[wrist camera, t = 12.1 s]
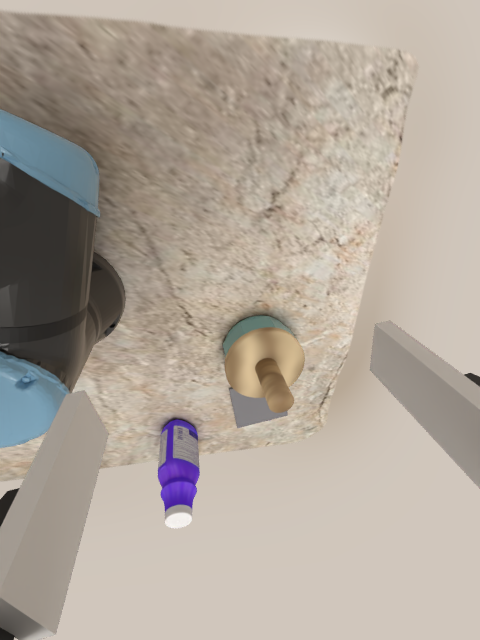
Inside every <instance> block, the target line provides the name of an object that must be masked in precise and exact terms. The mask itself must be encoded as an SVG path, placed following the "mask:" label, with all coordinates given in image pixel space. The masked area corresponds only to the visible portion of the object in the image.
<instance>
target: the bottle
mask: <svg viewBox="0 0 480 640" xmlns="http://www.w3.org/2000/svg"><path fill="white" fill-rule="evenodd" d="M199 473H200V472H199V453H198V435H197V431H196V429H195V428H194V427H193V426H192V425H191V424H189V423H187V422H185V421H182V420H177V419H176V420H173V421H171V422H169V423H168V424H167V425H166V426H165V427H164V428H163V430H162V433H161V440H160V452H159V464H158V479H159V481H160V484H161V486H162V490H161V498H162V500H163V501H164V505H165V524H166V525H167V526H168V527H170V528H182V527H185V526H187V525H188V524H189V523H190V522H191V521H192V503H193V499H194V497H195V494H196V492H197V488H196V486H195V485H196V483H197V481H198V478H199Z"/></svg>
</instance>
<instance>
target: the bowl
mask: <svg viewBox="0 0 480 640" xmlns="http://www.w3.org/2000/svg"><path fill="white" fill-rule="evenodd" d="M265 327H273V328H279V329H283V330H285V331H287V332H289V333H290V334H292V335H293V333H292V332H291V330H290V329H289V328H287V327H286V326H284V325H283V324H282V323H281V322H280V321H279V320H277V319H275V318H273V317H270V316H264V315H257V316H252V317H248V318H246V319H243V320H242V321H240V322H238V323H237V324H236V325H235V326H233V327H232V329H231V330H230V331H229V332H228V334H227V336H226V338H225V341H224V343H223V349H224V354H225V358H226V355H227V353H228V351H229V349H230V347H231V346H232V345H233V344H234V342H235V341H236V340H238V339H239V338H240V337H241V336H243V335H244V334H246V333H248V332H250V331H253V330H256V329H259V328H265ZM293 336H294V335H293ZM294 337H295V336H294Z"/></svg>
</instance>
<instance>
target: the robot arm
mask: <svg viewBox="0 0 480 640" xmlns="http://www.w3.org/2000/svg"><path fill="white" fill-rule="evenodd" d="M98 197H99V170H98V167H97V164H96V162H95V161H94V159H93V158H92V156H91V155H90V154H89V153H88V152H87V151H86V150H84V149H83V148H82V147H80V146H78V145H76V144H75V143H73V142H71V141H69V140H67V139H65V138H63V137H60V136H58V135H56V134H54V133H52V132H50V131H48V130H46V129H44V128H41V127H39V126H37V125H35V124H33V123H31V122H28V121H26V120H24V119H22V118H20V117H17V116H15V115H13V114H11V113H8V112H6V111H4V110H2V109H0V448H4V447H10V446H15V445H20V444H23V443H25V442H28V441H29V440H31V439H34V438H37V437H39V436H41V435H43V434H44V433H45V432H47V431H48V432H47V434H46V436H45V438H44V440H43V442H42V444H41V446H40V448H39V450H38V452H37V454H36V456H35V458H34V460H33V462H32V464H31V466H30V468H29V470H28V472H27V474H26V476H25V478H24V480H23V483H22V485H21V487H20V488H18V489H14V490H10V491H7V493H6V494H5V495H4V496H3V497H2V498H1V499H0V640H14V637H15V638H17V639H18V640H40V639H44V638H47V637H50V636H54V635H56V632H57V628H58V624H59V620H60V616H61V613H62V609H63V605H64V602H65V598H66V594H67V590H68V586H69V582H70V579H71V575H72V571H73V567H74V564H75V560H76V556H77V552H78V548H79V545H80V541H81V537H82V533H83V529H84V526H85V522H86V518H87V514H88V510H89V507H90V503H91V499H92V495H93V491H94V488H95V484H96V480H97V476H98V473H99V469H100V465H101V461H102V457H103V454H104V450H105V446H106V442H107V438H108V435H109V433H108V431H107V429H106V427H105V426H104V424H103V422H102V420H101V418H100V417H99V415H98V413H97V411H96V409H95V408H94V406H93V404H92V402H91V400H90V399H89V397H88V395H87V393H86V392H85V390H83V391H79V392H75V393H72V391H73V389H74V387H75V384H76V382H77V380H78V378H79V376H80V374H81V372H82V369H83V367H84V365H85V363H86V361H87V359H88V357H89V355H90V352H91V350H92V348H93V346H94V345H95V344H96V343H98V342H99V341H101V340H102V339H104V338H105V337H107V336H108V335H109V334H110V333H111V332H112V331H113V330H114V329H115V327H116V326H117V325H118V323H119V321H120V319H121V316H122V314H123V311H124V307H125V291H124V287H123V284H122V282H121V280H120V278H119V276H118V274H117V273H116V271H115V270H114V269H113V268H112V266H111V265H110V264H109V263H108V262H107V261H106V260H104V259H103V258H102V257H101V256H99V255H98V254H96V253H95V252H93V251H94V241H95V231H96V221H97V217H100V211H99V209H98ZM370 371H371V372H372V373H373V374H374V375H375V376H376V377H377V378H378V379H379V380H380V381H381V382H382V384H383V385H384V386H385V387H386V388H387V389H388V390H389V391H390V392H391V393H392V394H393V395H394V397H395V398H396V399H397V400H398V401H399V402H400V403H401V404H402V405H403V406H404V407H405V408H406V409H407V411H408V412H409V413H410V414H411V415H412V416H413V417H414V418H415V419H416V420H417V421H418V423H419V424H420V425H421V426H422V427H423V428H424V429H425V430H426V431H427V432H428V433H429V434H430V435H431V437H433V439H434V440H435V441H436V442H437V443H438V444H439V445H440V446H441V447H442V448H443V449H444V450H445V452H446V453H447V454H448V455H449V456H450V457H451V458H452V459H453V460H454V461H455V462H456V463H457V465H458V466H459V467H460V468H461V469H462V470H463V471H464V472H465V473H466V474H467V475H468V476H469V478H470V479H471V480H472V481H473V482H474V483H475V484H476V485H477V486H478V487H479V488H480V377H479V376H477V375H474V374H472V373H468V374H465V375H463V374H462V373H460V372H459V371H458V370H456V369H455V368H454V367H452V366H451V365H450V364H448V363H447V362H445V361H444V360H442V358H440V357H439V356H437V355H436V354H435V353H433V352H432V351H431V350H429V349H428V348H427V347H425V346H424V345H423V344H421V343H420V342H419V341H417V340H416V339H414V338H413V337H412V336H410V335H409V334H408V333H406V332H405V331H404V330H402V329H401V328H400V327H398V326H397V325H396V324H394V323H393V322H391V321H386V322H381V323H377V324H375V327H374V336H373V346H372V355H371V363H370Z"/></svg>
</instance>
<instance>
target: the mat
mask: <svg viewBox="0 0 480 640" xmlns="http://www.w3.org/2000/svg"><path fill="white" fill-rule="evenodd" d="M229 391H230V395H231V400H232V405H233V409H234V414H235V419H236V423H237V428H240V427H244V426H248V425H252V424H256V423H260V422H264V421H268V420H272V419H275V418H279V417H283V416H287V411H285V412H281V413H275V412H272V411H271V410H270V409H269V406H268V404H267V401H266V398H265V397H264V398H252V397H247V396H244V395H242V394H240V393H238V392H237V391H235V390H234V389H233V388H229Z"/></svg>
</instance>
